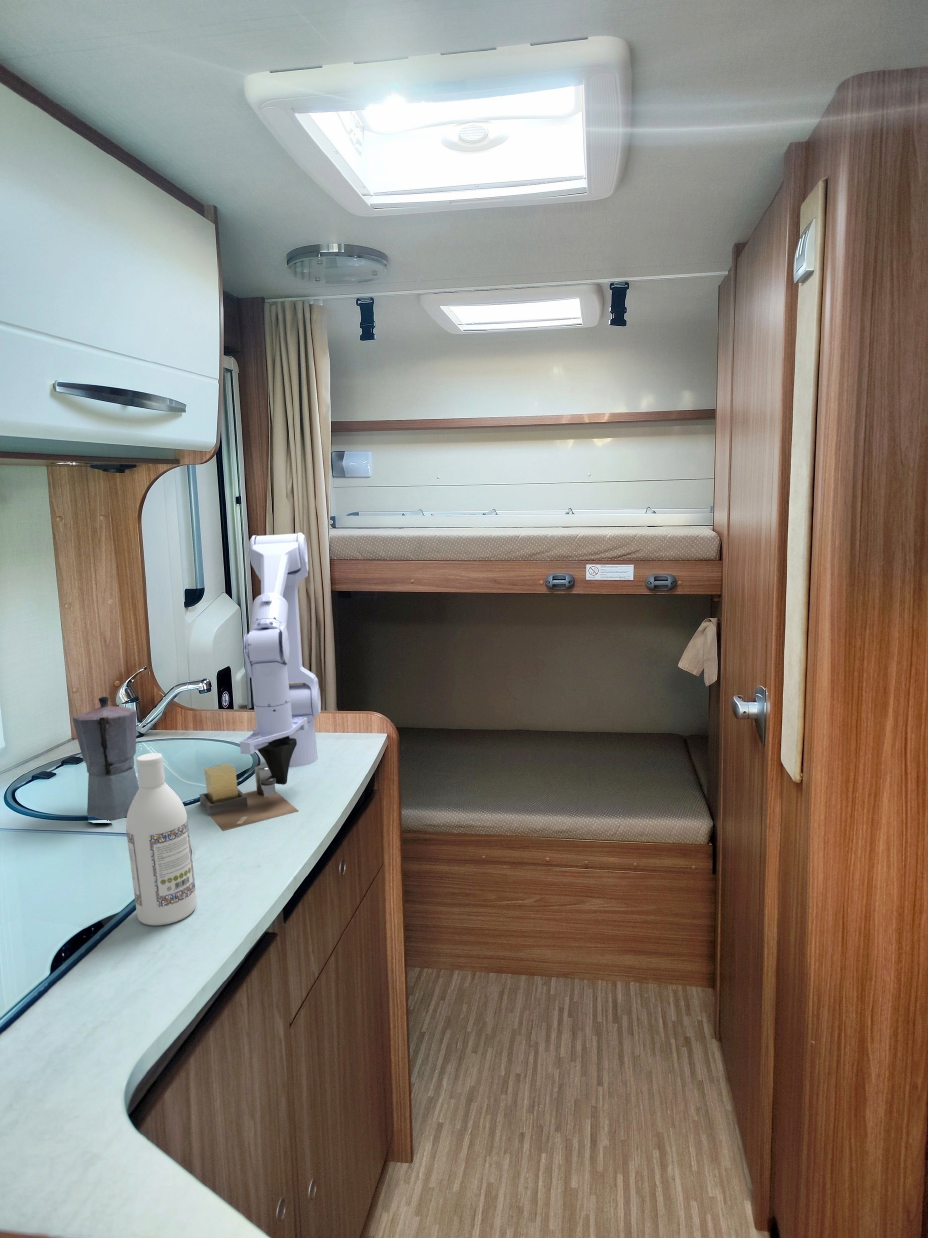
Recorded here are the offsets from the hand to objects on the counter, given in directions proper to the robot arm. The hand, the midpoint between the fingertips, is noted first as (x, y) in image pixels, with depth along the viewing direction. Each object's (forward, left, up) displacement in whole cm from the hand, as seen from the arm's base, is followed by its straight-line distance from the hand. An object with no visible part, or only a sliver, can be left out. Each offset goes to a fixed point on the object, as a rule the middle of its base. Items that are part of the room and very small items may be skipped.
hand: (280, 783), depth 129 cm
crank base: (-1, -5, -4) cm, 7 cm away
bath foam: (+24, -23, -4) cm, 34 cm away
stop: (-5, -8, -3) cm, 10 cm away
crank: (-2, -2, -3) cm, 4 cm away
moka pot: (-14, -23, -4) cm, 28 cm away
